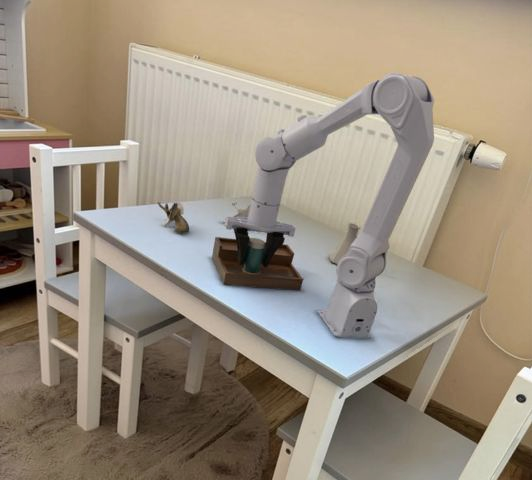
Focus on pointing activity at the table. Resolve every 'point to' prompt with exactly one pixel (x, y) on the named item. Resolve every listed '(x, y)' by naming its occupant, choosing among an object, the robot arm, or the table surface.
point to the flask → (345, 243)
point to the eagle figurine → (176, 217)
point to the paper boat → (241, 212)
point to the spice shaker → (253, 255)
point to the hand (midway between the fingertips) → (252, 264)
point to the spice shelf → (272, 276)
